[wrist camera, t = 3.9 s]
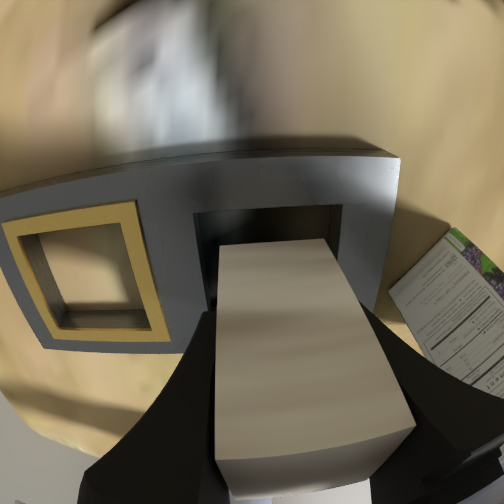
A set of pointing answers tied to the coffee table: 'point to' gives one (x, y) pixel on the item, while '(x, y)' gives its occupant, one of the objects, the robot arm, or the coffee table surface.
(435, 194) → the coffee table surface
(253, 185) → the rail
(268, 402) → the peg
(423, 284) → the syrup box
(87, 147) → the coffee table surface
